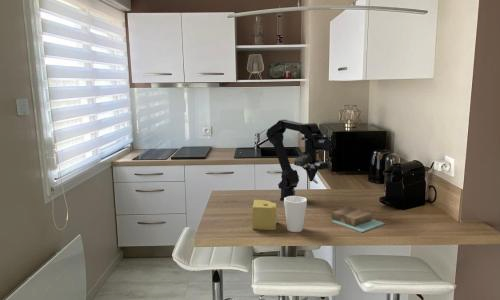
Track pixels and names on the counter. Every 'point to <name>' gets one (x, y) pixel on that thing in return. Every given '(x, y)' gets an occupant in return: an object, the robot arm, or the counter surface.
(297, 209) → the foam cup
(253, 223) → the cheese
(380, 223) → the mat
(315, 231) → the counter surface
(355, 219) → the walnut block
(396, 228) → the counter surface
